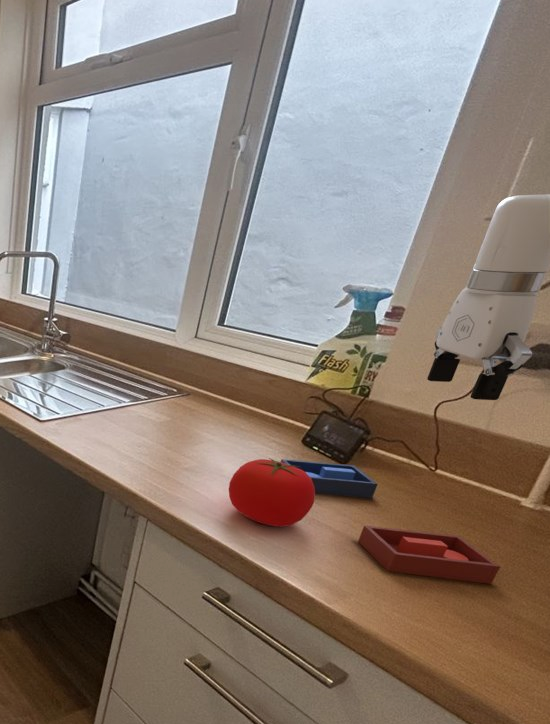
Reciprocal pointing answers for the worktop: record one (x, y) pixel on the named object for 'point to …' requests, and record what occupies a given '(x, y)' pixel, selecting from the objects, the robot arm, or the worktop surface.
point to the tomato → (272, 492)
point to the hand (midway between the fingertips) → (460, 389)
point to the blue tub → (337, 480)
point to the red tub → (385, 552)
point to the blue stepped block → (334, 473)
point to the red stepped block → (427, 548)
